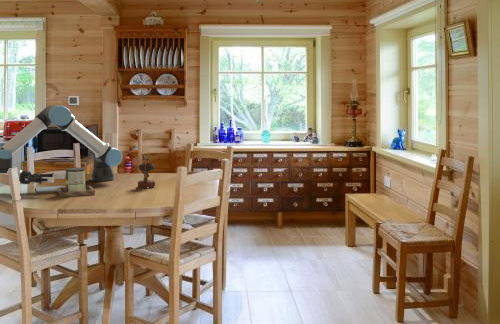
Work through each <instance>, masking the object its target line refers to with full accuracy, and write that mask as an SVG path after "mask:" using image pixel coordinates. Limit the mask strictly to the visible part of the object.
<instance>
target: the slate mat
mask: <svg viewBox="0 0 500 324" xmlns="http://www.w3.org/2000/svg"><path fill="white" fill-rule="evenodd" d="M58 187H66V186H65V185H60V186H59V185H57V186H40V187H39V186H37V187H35V191H36V193H37V194H38V193H39V194H40V193H53V192H54V193H55V192H57V193H58Z"/></svg>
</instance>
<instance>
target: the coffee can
mask: <svg viewBox="0 0 500 324" xmlns="http://www.w3.org/2000/svg"><path fill="white" fill-rule="evenodd" d="M85 171H86V168H85V167H67V168H65V179H66V180H65V183H66V184H65V185H66V186H65V187H66V188H67V192H71V191H86V190H85V186H86V174H85V173H86V172H85Z"/></svg>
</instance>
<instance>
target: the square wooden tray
mask: <svg viewBox="0 0 500 324" xmlns="http://www.w3.org/2000/svg"><path fill="white" fill-rule="evenodd" d="M57 193H58V195H59V196H60V198H66V197H67V198H68V197H69V198H70V197H82V196H95V195H96V191H95V189H94V188H93V187H92V186H91V185H85V191H71V192H67V188H66V186H65V187H58V192H57Z"/></svg>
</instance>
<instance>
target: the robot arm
mask: <svg viewBox="0 0 500 324" xmlns="http://www.w3.org/2000/svg"><path fill="white" fill-rule="evenodd" d="M53 125H54V126H55V127H57V129H59V130H61V132H63V131H65V132H66V133H68V134H70V135H71V136H72V137H73V138H75V139H76V140H77V141H78V142H80V143H81V144H82V145H84V146H85V147H86V148H88V149H89V150H90V151H92V171H91V174H90V181H92V182H93V181H94V182H107V181H108V182H110V181H113V180H115V175H114V172H113V169H112V167H117V166H119V165H120V164H121V163H122V161H123V153H122V151H121V150H120V149H118V148H116V147H114V146H113V145H111V144H110V143H109V142H104V141H103V140H101V139H100V138H99V137H97V136H96V135H95V134H94V133H93V132H91V131H90V130H89V129H87V128H86V127H85V126H84V125H82V124H81V123H80V122H78V121H77V119H76V117H75V115H74V114H72V112H71V110H70V109H69V108H68V107H66V106H64V105H61V104H57V105H55V104H53V105H48V106H46V107H45V108H44V109H42V110H41V111H39V113H37V115H35V116H34V120H32V121H31V122H30V123H28V124H27V125H26V126H25V127H24V128H23V129H21V130H20V131H19V132H18V133H17V134H15V135H14V136H12V137H11V139H9V140H8V141H7V142H6V143H5V144H3V145H2V146H1V147H0V173H7V171H8V169H9V168H13V156H14V154H16V153H17V152H19V150H21V149H22V148H23V147H24V146H25V145H26V144H28V143H29V142H30V141H31V140H33V139H34V138H35V137H37V135H38V134H39V133H41V131H43V130H47V129H49V127H51V126H53ZM17 171H18V175H19V181H20V184H19V185H30V184H31V183H37V184H42V183H55V179H57V180H65V173H54V172H52V173H33V174H32V172H31V171H29V170H17Z"/></svg>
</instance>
